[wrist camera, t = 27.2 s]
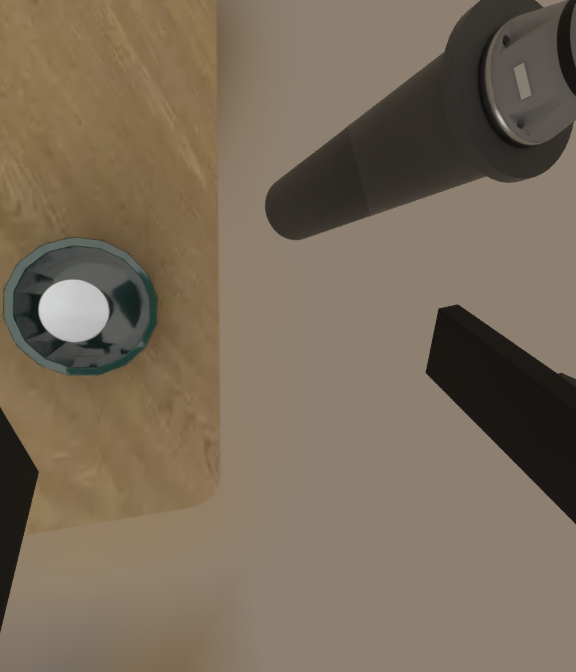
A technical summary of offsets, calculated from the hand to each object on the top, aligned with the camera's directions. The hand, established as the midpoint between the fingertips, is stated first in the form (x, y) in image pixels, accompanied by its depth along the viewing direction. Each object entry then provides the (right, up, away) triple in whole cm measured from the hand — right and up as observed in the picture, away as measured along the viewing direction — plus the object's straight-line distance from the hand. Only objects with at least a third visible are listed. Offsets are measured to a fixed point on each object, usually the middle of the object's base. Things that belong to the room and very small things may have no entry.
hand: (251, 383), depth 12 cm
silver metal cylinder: (-16, +4, +21) cm, 27 cm away
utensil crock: (-16, +4, +22) cm, 27 cm away
